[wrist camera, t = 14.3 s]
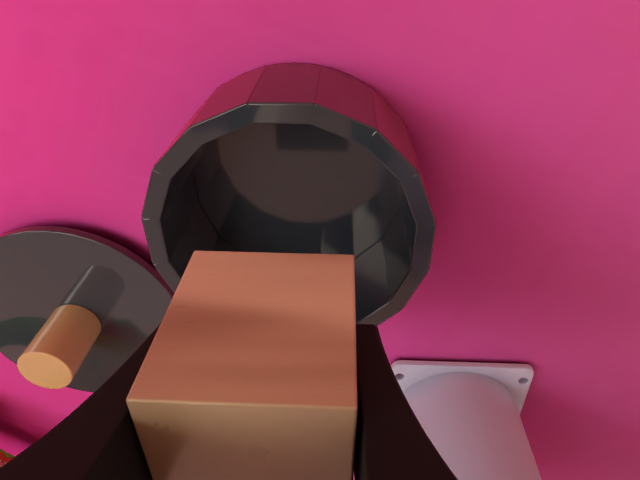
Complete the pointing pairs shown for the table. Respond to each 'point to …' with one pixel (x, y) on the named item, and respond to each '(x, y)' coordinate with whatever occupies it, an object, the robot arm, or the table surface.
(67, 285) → the lid
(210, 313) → the block
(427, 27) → the table surface
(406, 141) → the dark grey hollow cylinder
